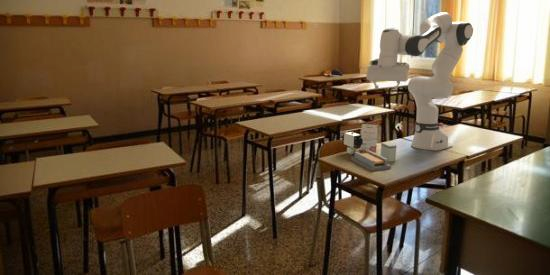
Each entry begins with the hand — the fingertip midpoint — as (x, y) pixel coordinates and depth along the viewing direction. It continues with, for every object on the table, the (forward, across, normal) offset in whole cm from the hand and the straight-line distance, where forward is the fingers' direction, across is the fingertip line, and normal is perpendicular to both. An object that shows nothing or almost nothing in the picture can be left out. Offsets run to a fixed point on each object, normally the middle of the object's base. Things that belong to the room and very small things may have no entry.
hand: (385, 89), depth 210 cm
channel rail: (+35, +2, +17) cm, 39 cm away
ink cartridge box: (+35, +8, -8) cm, 37 cm away
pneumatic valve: (+35, +15, +3) cm, 38 cm away
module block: (+35, -4, +5) cm, 35 cm away
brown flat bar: (+32, +2, +17) cm, 37 cm away
